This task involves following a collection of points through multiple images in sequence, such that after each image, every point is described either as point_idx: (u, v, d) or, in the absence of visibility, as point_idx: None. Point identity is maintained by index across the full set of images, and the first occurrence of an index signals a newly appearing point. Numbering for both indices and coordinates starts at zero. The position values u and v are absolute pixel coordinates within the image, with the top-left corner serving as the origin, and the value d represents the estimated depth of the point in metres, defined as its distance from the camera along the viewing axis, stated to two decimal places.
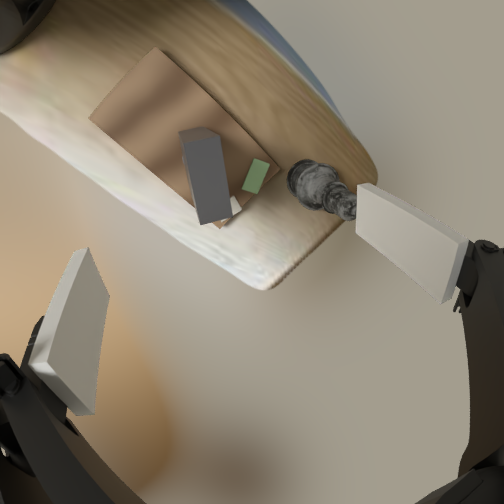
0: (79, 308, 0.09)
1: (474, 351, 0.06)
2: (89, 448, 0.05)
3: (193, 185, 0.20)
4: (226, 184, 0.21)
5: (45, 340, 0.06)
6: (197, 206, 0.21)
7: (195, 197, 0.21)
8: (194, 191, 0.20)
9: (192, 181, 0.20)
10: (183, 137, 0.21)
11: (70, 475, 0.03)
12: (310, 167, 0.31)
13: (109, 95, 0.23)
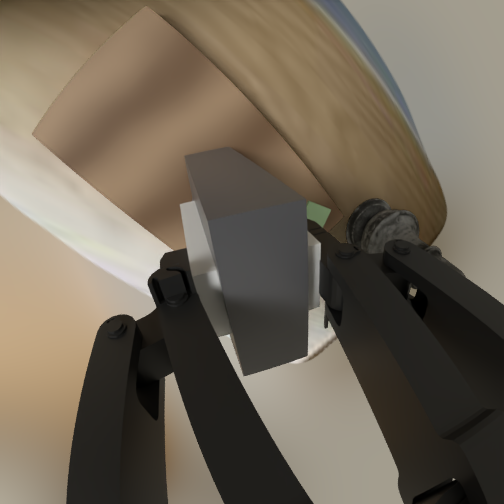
0: None
1: (365, 377, 0.07)
2: None
3: (233, 316, 0.09)
4: (305, 306, 0.09)
5: (202, 258, 0.09)
6: (240, 351, 0.09)
7: (236, 337, 0.09)
8: (234, 327, 0.09)
9: (231, 308, 0.08)
10: (200, 182, 0.10)
11: (225, 394, 0.05)
12: (389, 217, 0.20)
13: (64, 92, 0.12)
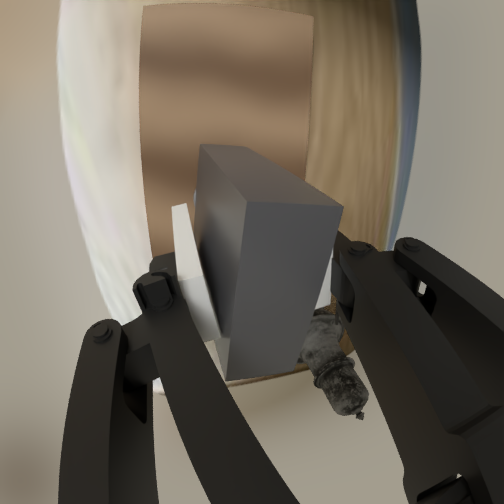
0: (196, 247, 0.11)
1: (374, 373, 0.07)
2: None
3: (237, 313, 0.08)
4: (309, 317, 0.09)
5: (189, 262, 0.09)
6: (231, 352, 0.09)
7: (233, 336, 0.08)
8: (235, 325, 0.08)
9: (238, 304, 0.08)
10: (225, 167, 0.09)
11: (211, 400, 0.05)
12: (328, 315, 0.22)
13: (200, 6, 0.11)
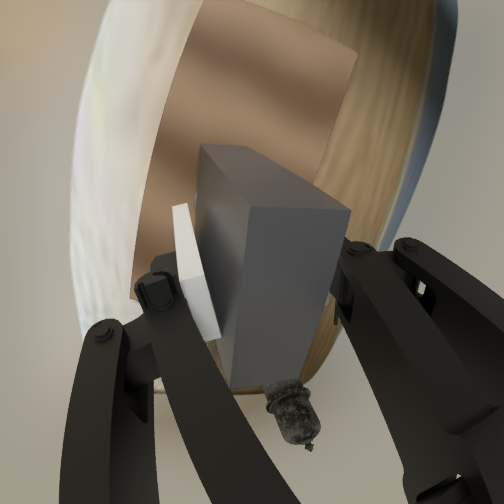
0: None
1: (373, 373, 0.07)
2: None
3: (241, 322, 0.08)
4: (315, 325, 0.08)
5: (190, 262, 0.09)
6: (235, 361, 0.08)
7: (237, 345, 0.08)
8: (239, 334, 0.08)
9: (241, 313, 0.07)
10: (227, 169, 0.09)
11: (212, 399, 0.05)
12: None
13: (260, 9, 0.12)
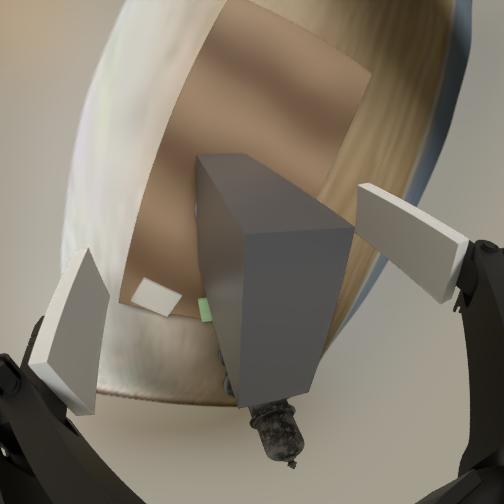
0: (79, 308, 0.09)
1: (474, 351, 0.06)
2: (89, 448, 0.05)
3: (245, 346, 0.07)
4: (322, 342, 0.08)
5: (45, 340, 0.06)
6: (242, 383, 0.08)
7: (242, 368, 0.08)
8: (244, 358, 0.07)
9: (245, 338, 0.07)
10: (222, 185, 0.09)
11: (70, 475, 0.03)
12: None
13: (281, 20, 0.12)
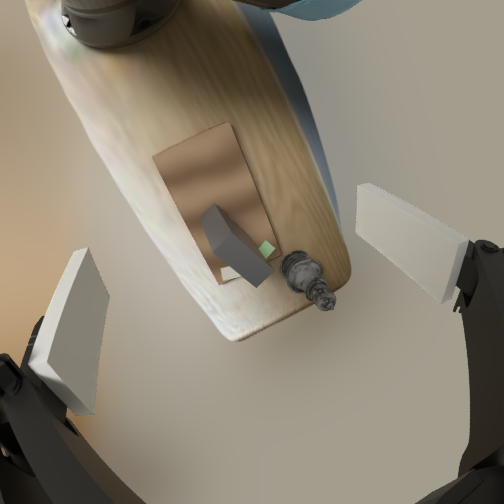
0: (79, 308, 0.09)
1: (474, 351, 0.06)
2: (89, 448, 0.05)
3: (236, 270, 0.28)
4: (256, 256, 0.28)
5: (45, 340, 0.06)
6: (247, 279, 0.29)
7: (242, 275, 0.29)
8: (239, 273, 0.29)
9: (234, 268, 0.28)
10: (208, 236, 0.30)
11: (70, 475, 0.03)
12: (305, 260, 0.41)
13: (177, 147, 0.31)
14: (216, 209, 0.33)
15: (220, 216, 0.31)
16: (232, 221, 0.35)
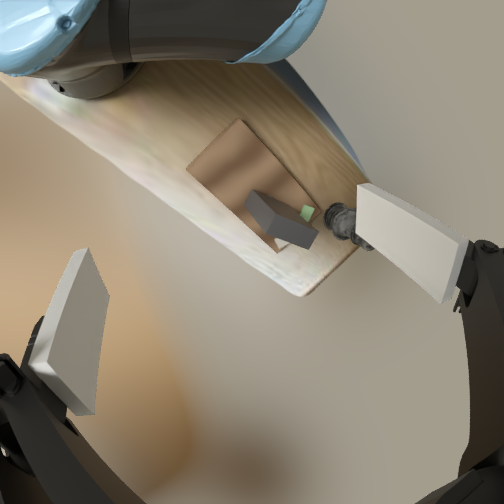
0: (79, 308, 0.09)
1: (474, 351, 0.06)
2: (89, 448, 0.05)
3: (288, 241, 0.34)
4: (301, 225, 0.34)
5: (45, 340, 0.06)
6: (299, 245, 0.35)
7: (294, 243, 0.35)
8: (291, 242, 0.34)
9: (286, 240, 0.34)
10: (257, 220, 0.36)
11: (70, 475, 0.03)
12: (342, 211, 0.45)
13: (204, 154, 0.37)
14: (255, 194, 0.38)
15: (261, 200, 0.36)
16: (272, 199, 0.40)
